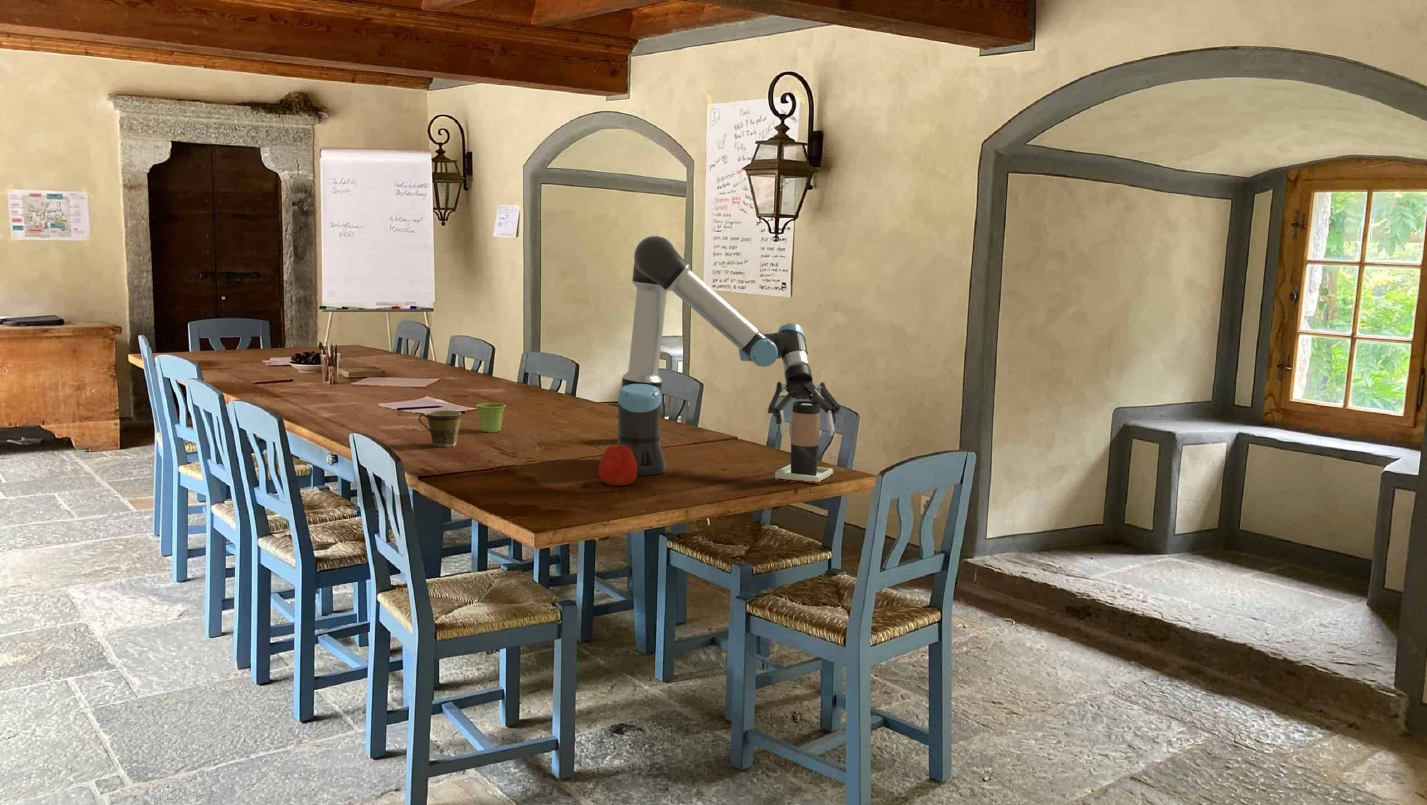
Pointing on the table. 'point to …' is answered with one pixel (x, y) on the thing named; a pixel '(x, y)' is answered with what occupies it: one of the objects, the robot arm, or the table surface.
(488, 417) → the plant pot
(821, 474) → the holder tray
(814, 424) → the travel mug
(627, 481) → the apple
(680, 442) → the table surface
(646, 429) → the robot arm
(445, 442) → the ceramic cup
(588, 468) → the table surface
